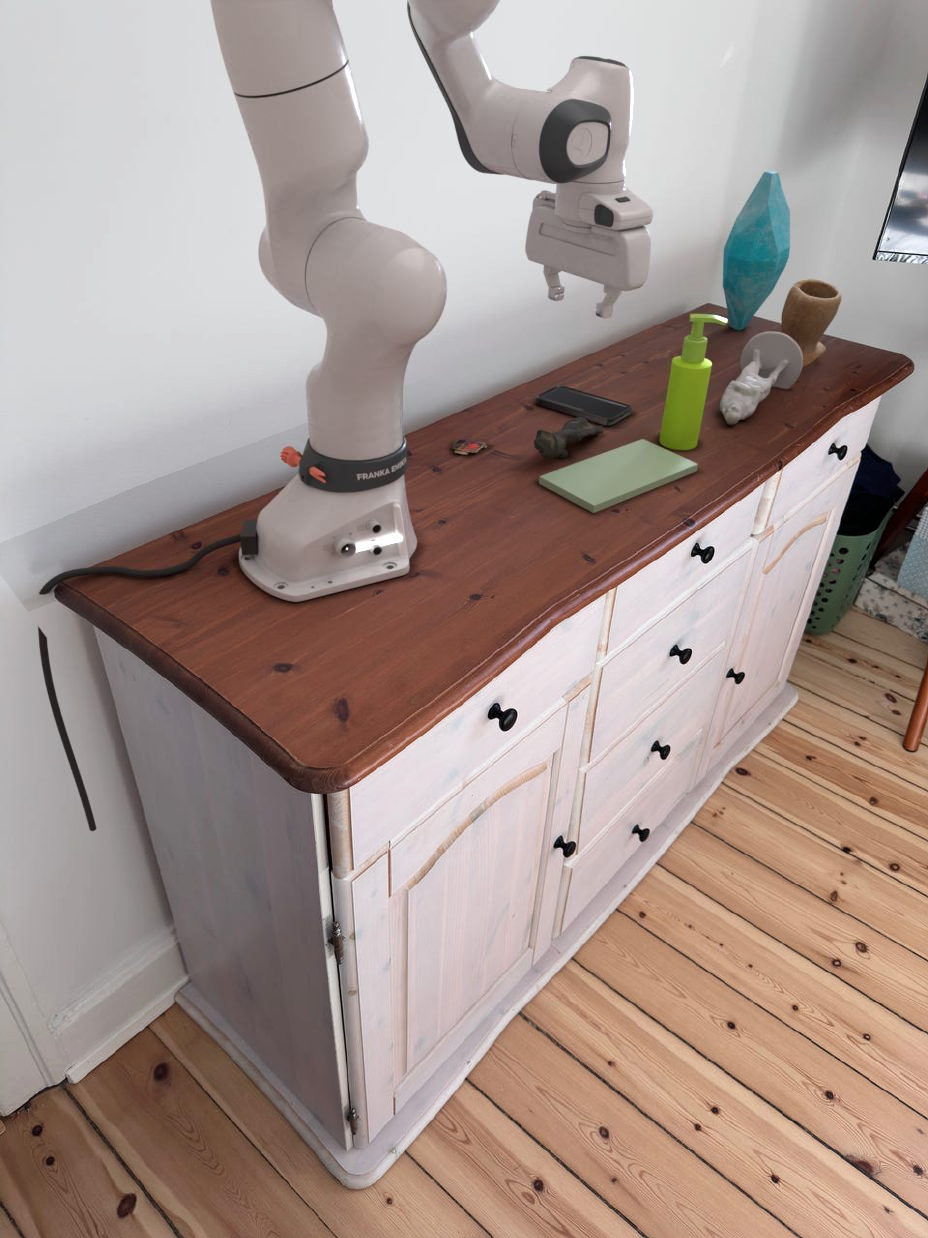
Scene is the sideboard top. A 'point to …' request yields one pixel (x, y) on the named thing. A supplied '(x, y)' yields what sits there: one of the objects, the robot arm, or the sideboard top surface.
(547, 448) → the statue
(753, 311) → the crystal
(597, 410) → the phone
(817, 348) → the stone cup
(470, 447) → the matchbox
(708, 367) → the soap dispenser
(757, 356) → the male figure
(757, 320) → the sideboard top surface
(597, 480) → the board
